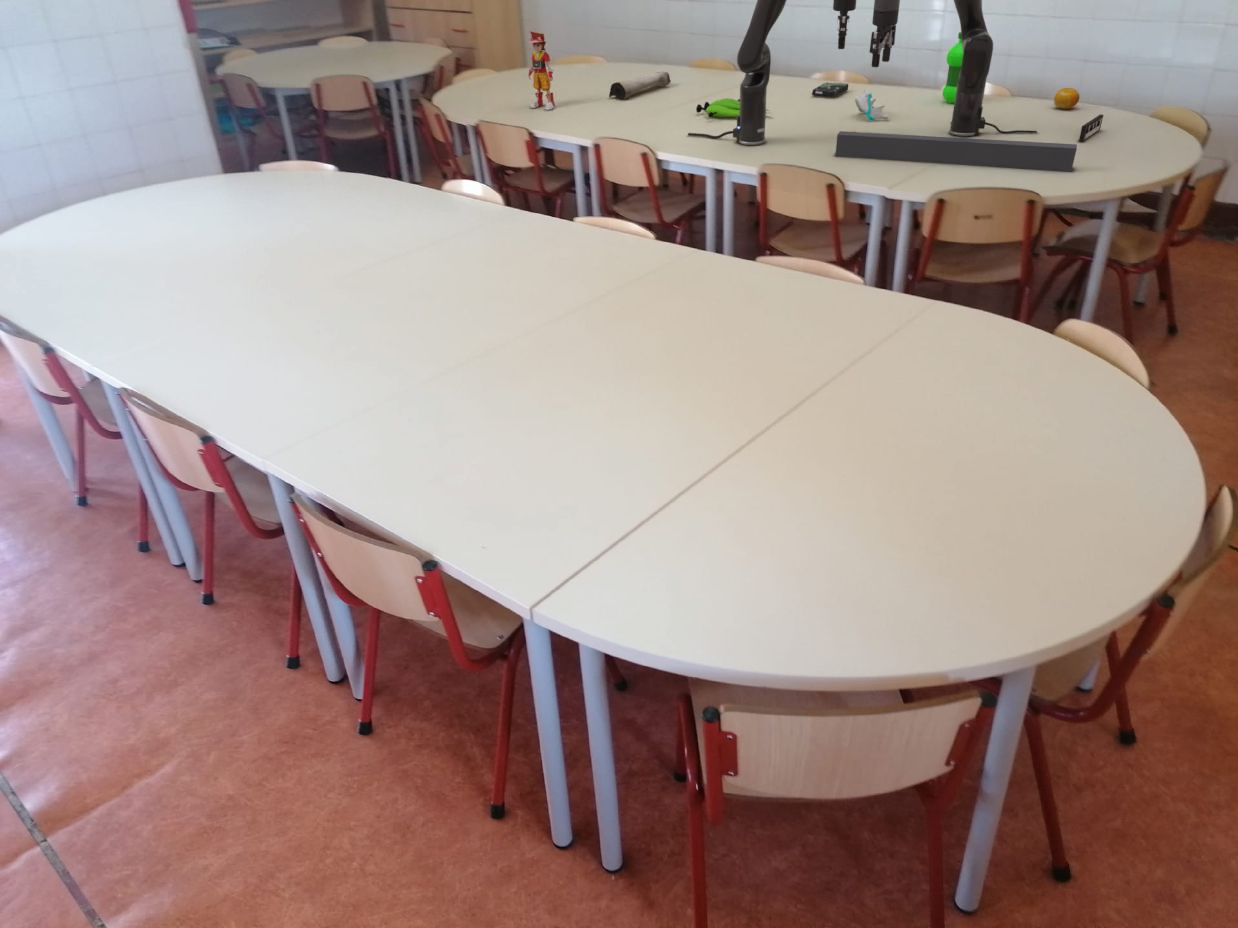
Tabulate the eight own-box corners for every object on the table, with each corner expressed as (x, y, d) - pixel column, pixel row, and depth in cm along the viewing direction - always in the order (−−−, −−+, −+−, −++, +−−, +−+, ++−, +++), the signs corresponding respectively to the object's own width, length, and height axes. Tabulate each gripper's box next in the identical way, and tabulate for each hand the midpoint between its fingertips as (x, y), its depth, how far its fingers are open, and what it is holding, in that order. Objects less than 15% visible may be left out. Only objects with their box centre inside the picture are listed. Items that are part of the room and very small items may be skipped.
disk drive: (835, 99, 369) (848, 90, 379) (836, 91, 367) (848, 83, 378) (811, 97, 374) (824, 88, 384) (812, 90, 372) (825, 81, 382)
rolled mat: (651, 76, 408) (662, 61, 399) (662, 93, 408) (674, 79, 400) (605, 92, 391) (616, 77, 383) (617, 110, 391) (628, 95, 383)
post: (1071, 167, 282) (1077, 144, 278) (1071, 171, 279) (1076, 148, 274) (838, 152, 308) (840, 131, 304) (835, 156, 305) (837, 134, 300)
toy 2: (686, 116, 353) (756, 128, 340) (688, 102, 350) (757, 114, 337) (718, 105, 373) (784, 117, 360) (719, 92, 370) (786, 103, 358)
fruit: (1050, 100, 335) (1065, 80, 332) (1048, 104, 343) (1063, 84, 340) (1069, 112, 334) (1085, 93, 331) (1067, 116, 342) (1082, 96, 339)
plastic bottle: (973, 101, 354) (984, 32, 339) (955, 106, 349) (966, 36, 335) (952, 97, 361) (962, 29, 346) (934, 102, 356) (944, 33, 342)
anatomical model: (850, 90, 344) (876, 83, 344) (852, 117, 350) (878, 110, 349) (861, 99, 332) (888, 92, 331) (864, 127, 338) (890, 120, 337)
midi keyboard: (1082, 141, 303) (1086, 126, 300) (1078, 141, 304) (1082, 126, 301) (1100, 129, 313) (1103, 115, 310) (1096, 129, 314) (1100, 114, 311)
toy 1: (525, 109, 381) (517, 32, 364) (534, 104, 388) (527, 28, 371) (550, 110, 377) (543, 32, 360) (559, 105, 384) (553, 28, 367)
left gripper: (883, 3, 282) (877, 59, 291) (865, 11, 272) (860, 68, 282) (906, 4, 278) (900, 61, 287) (889, 12, 269) (883, 70, 278)
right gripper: (857, -3, 295) (852, 50, 304) (856, -9, 306) (852, 42, 316) (833, -2, 296) (829, 51, 306) (834, -9, 308) (830, 43, 317)
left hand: (880, 64), depth 284 cm, fingers open, 8 cm apart
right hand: (841, 46), depth 311 cm, fingers open, 8 cm apart
